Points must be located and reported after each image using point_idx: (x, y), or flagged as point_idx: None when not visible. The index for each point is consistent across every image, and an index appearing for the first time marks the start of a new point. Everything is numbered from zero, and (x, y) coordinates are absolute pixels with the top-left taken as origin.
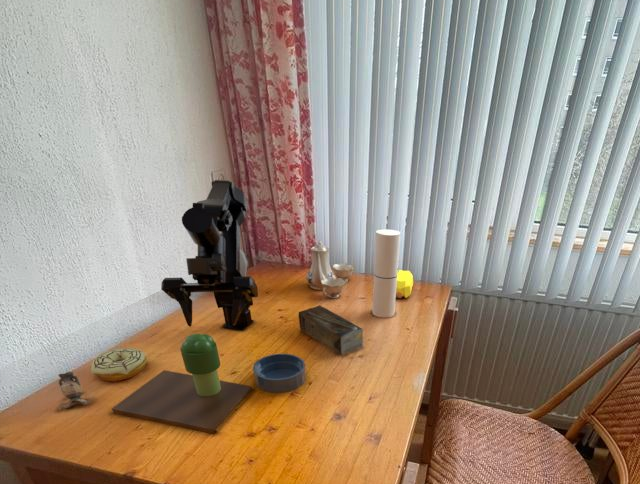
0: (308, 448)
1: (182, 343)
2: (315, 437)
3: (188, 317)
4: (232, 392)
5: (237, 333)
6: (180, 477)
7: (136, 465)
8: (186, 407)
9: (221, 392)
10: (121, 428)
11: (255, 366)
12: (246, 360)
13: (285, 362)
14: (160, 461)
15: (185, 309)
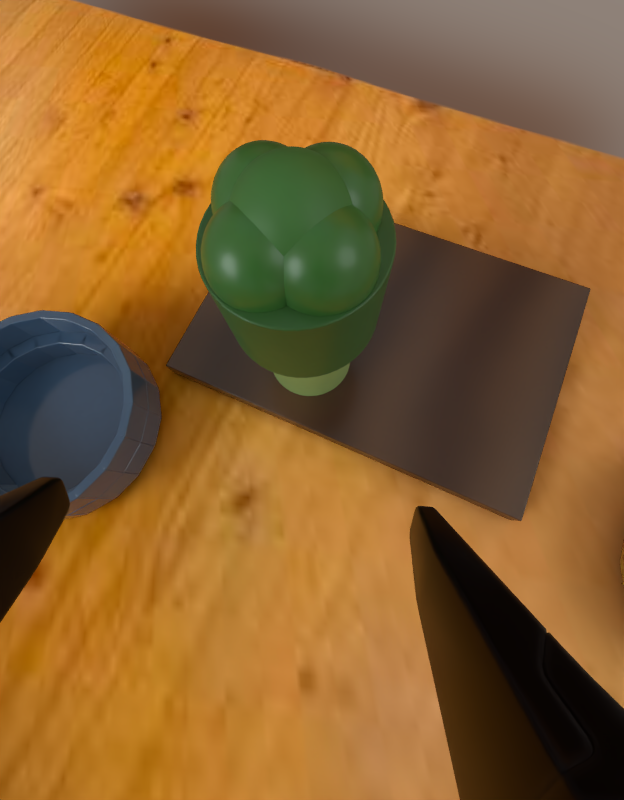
0: (61, 138)
1: (374, 177)
2: (37, 167)
3: (439, 551)
4: (231, 336)
5: None
6: (324, 89)
7: (425, 122)
8: None
9: None
10: (519, 235)
11: (121, 415)
12: (195, 606)
13: None
14: (377, 128)
15: (501, 626)
